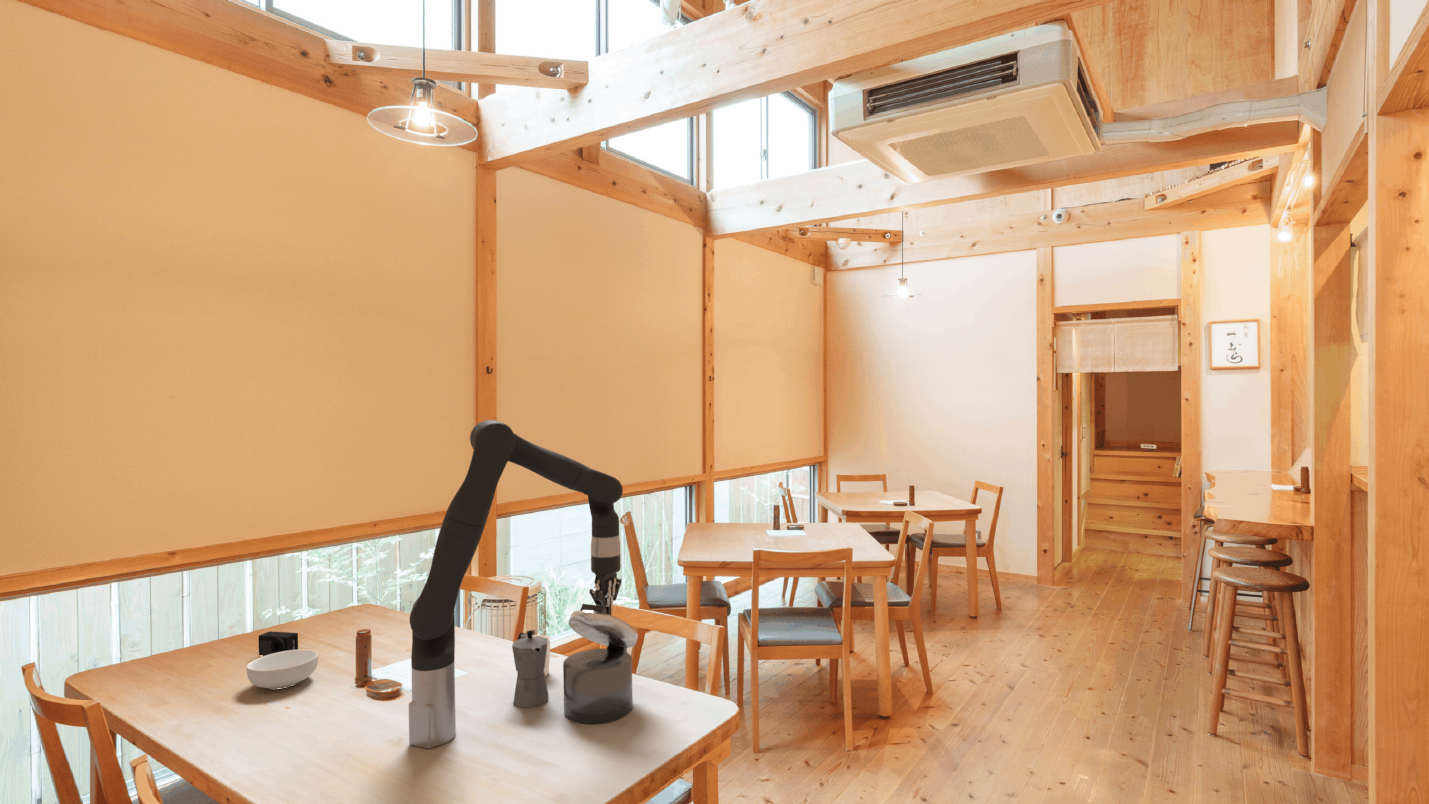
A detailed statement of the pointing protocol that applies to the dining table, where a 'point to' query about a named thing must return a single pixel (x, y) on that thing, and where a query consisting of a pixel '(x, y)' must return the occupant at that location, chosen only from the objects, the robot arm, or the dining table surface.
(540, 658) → the coffeepot
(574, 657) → the pot
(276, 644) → the digital camera
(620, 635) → the lid
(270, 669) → the cereal bowl
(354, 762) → the dining table surface
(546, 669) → the white cup
